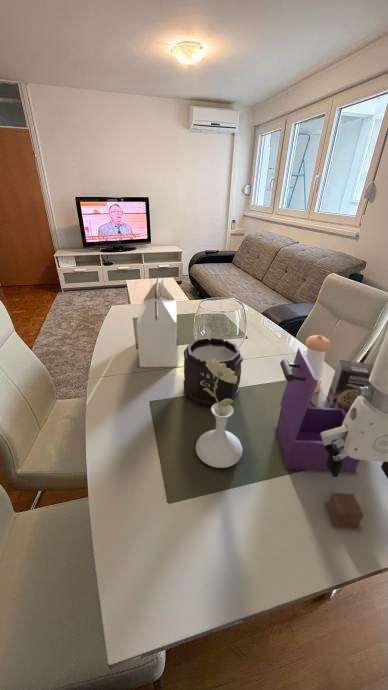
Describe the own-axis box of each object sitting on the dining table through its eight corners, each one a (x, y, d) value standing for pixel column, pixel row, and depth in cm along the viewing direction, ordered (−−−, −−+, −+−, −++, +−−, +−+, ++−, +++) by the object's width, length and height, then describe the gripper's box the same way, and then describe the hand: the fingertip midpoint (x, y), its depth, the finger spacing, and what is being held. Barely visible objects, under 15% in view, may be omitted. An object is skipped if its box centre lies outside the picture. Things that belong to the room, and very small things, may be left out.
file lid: (301, 348, 68) (280, 345, 68) (318, 380, 57) (292, 376, 57) (283, 403, 76) (264, 401, 76) (295, 441, 65) (272, 438, 65)
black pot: (222, 371, 106) (225, 331, 98) (249, 401, 91) (255, 357, 84) (174, 381, 99) (173, 340, 92) (194, 416, 85) (196, 369, 77)
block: (348, 507, 62) (354, 493, 60) (357, 529, 58) (363, 515, 56) (326, 506, 62) (331, 492, 60) (334, 527, 58) (339, 513, 56)
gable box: (176, 367, 107) (176, 292, 94) (139, 368, 106) (133, 292, 93) (176, 339, 127) (175, 273, 113) (145, 339, 126) (140, 273, 112)
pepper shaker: (293, 389, 97) (305, 337, 88) (297, 378, 103) (309, 328, 94) (317, 396, 94) (331, 343, 85) (320, 384, 100) (334, 333, 91)
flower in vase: (251, 460, 72) (265, 373, 60) (211, 480, 67) (218, 390, 55) (220, 426, 82) (227, 346, 70) (184, 441, 77) (184, 357, 65)
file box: (334, 433, 80) (343, 408, 76) (354, 473, 69) (365, 446, 65) (276, 430, 81) (281, 405, 77) (286, 469, 70) (292, 442, 65)
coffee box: (327, 417, 86) (341, 370, 78) (324, 403, 91) (337, 358, 83) (361, 423, 84) (380, 376, 76) (356, 408, 89) (373, 363, 82)
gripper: (344, 408, 42) (316, 487, 50) (469, 417, 42) (421, 495, 50) (326, 378, 49) (304, 452, 57) (435, 385, 48) (397, 459, 56)
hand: (359, 472), depth 53 cm, fingers open, 9 cm apart
